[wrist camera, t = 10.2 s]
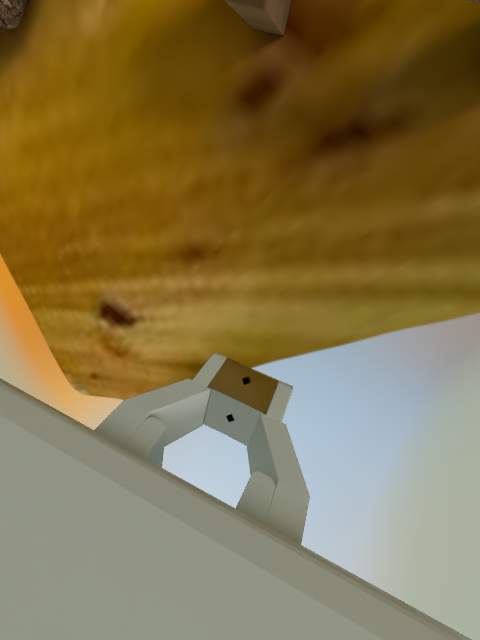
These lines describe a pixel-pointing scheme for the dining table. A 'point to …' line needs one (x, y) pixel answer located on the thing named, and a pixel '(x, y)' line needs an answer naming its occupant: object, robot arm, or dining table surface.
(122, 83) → the dining table surface
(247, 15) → the bridge
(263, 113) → the dining table surface
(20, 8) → the rock
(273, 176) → the dining table surface
